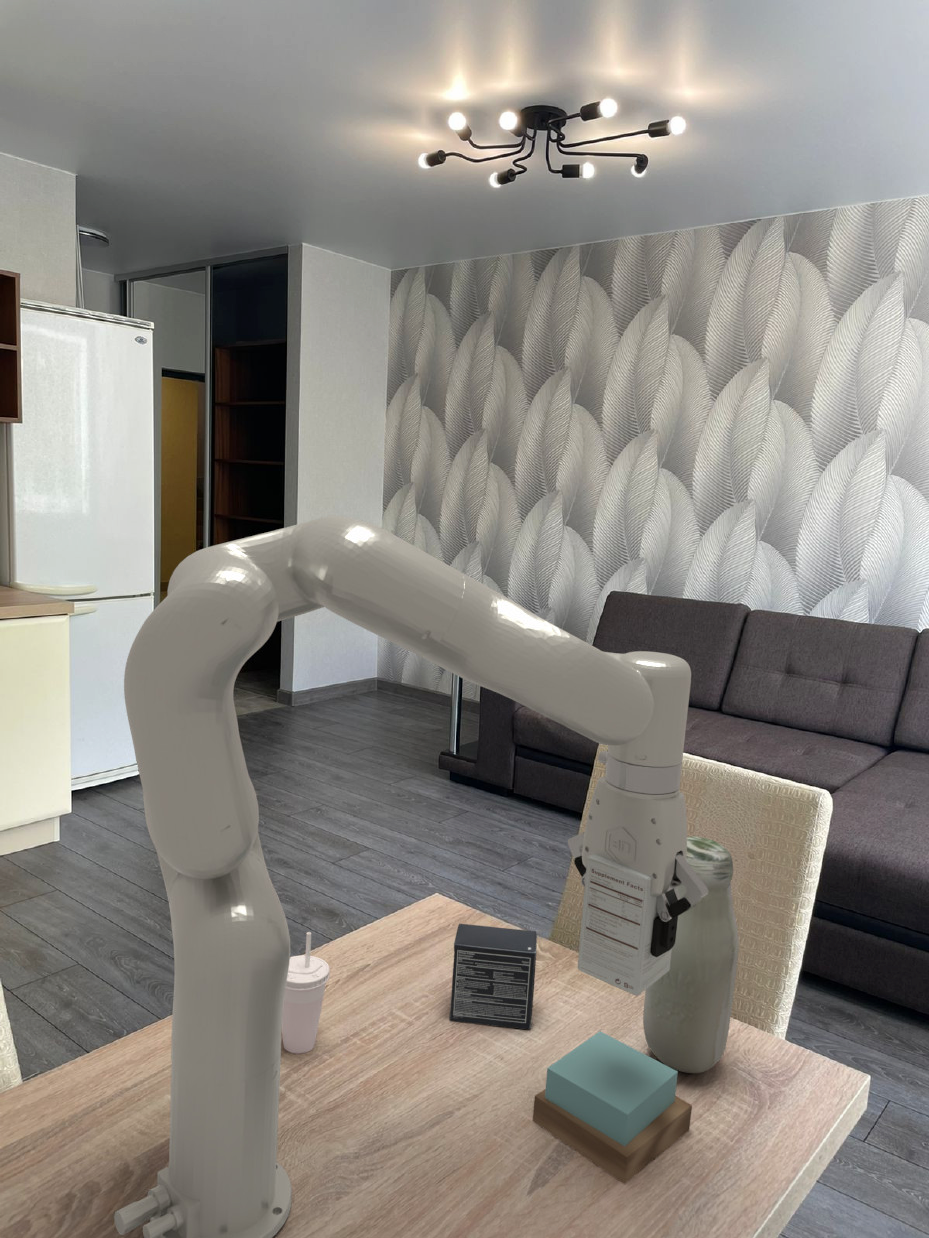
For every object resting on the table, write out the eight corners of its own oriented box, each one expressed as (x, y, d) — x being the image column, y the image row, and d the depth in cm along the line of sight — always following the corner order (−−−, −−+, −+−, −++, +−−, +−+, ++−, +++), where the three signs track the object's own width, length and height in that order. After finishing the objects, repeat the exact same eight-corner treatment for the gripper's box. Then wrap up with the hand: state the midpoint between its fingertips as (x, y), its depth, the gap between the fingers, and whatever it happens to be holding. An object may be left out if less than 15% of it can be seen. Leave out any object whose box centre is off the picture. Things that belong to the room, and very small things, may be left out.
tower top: (624, 1146, 93) (627, 1114, 92) (544, 1097, 99) (547, 1067, 99) (674, 1101, 100) (677, 1071, 99) (597, 1058, 107) (599, 1030, 106)
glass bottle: (734, 1057, 114) (759, 840, 110) (706, 1100, 105) (733, 866, 101) (658, 1027, 119) (679, 819, 115) (625, 1066, 110) (648, 842, 106)
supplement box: (610, 946, 102) (621, 837, 101) (671, 971, 98) (684, 858, 96) (574, 970, 97) (585, 855, 95) (637, 998, 92) (649, 878, 90)
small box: (532, 1003, 123) (539, 928, 121) (531, 1031, 116) (538, 953, 115) (453, 994, 124) (458, 920, 122) (447, 1021, 117) (453, 943, 116)
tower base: (624, 1189, 92) (627, 1157, 91) (532, 1125, 100) (534, 1095, 99) (688, 1134, 100) (692, 1105, 100) (599, 1079, 108) (601, 1052, 108)
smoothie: (331, 1055, 109) (337, 943, 107) (277, 1064, 106) (281, 950, 104) (319, 1024, 115) (324, 918, 113) (267, 1032, 112) (271, 924, 110)
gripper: (553, 758, 98) (539, 915, 100) (699, 805, 86) (680, 983, 88) (595, 747, 103) (582, 897, 105) (739, 790, 91) (720, 958, 93)
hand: (627, 935), depth 97 cm, fingers closed on supplement box, 7 cm apart
